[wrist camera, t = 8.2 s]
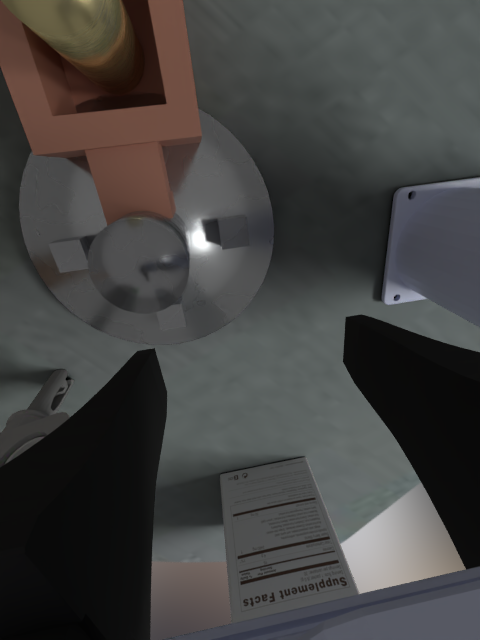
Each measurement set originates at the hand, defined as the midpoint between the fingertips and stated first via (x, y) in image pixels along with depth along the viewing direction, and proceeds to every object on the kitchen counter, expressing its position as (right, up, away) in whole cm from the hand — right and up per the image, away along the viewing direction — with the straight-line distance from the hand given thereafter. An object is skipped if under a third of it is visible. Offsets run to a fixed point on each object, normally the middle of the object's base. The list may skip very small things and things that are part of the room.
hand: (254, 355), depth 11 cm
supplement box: (+2, -17, +20) cm, 26 cm away
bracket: (-6, +12, +4) cm, 14 cm away
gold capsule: (-6, +13, +2) cm, 15 cm away
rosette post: (-6, +6, +7) cm, 11 cm away
